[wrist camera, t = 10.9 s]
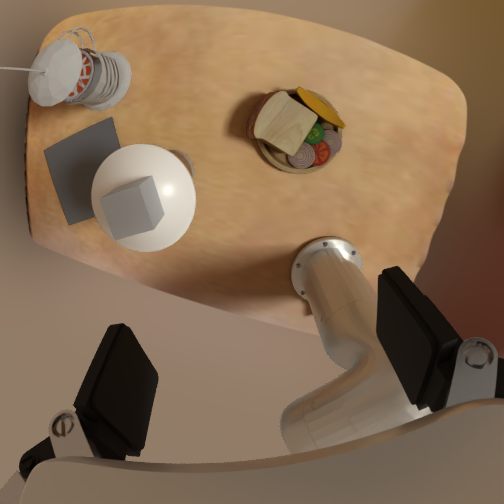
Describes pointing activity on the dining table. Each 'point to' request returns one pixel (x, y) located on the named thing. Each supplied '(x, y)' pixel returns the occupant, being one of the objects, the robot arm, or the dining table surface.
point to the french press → (77, 75)
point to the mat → (80, 167)
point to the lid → (143, 197)
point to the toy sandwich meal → (296, 130)
